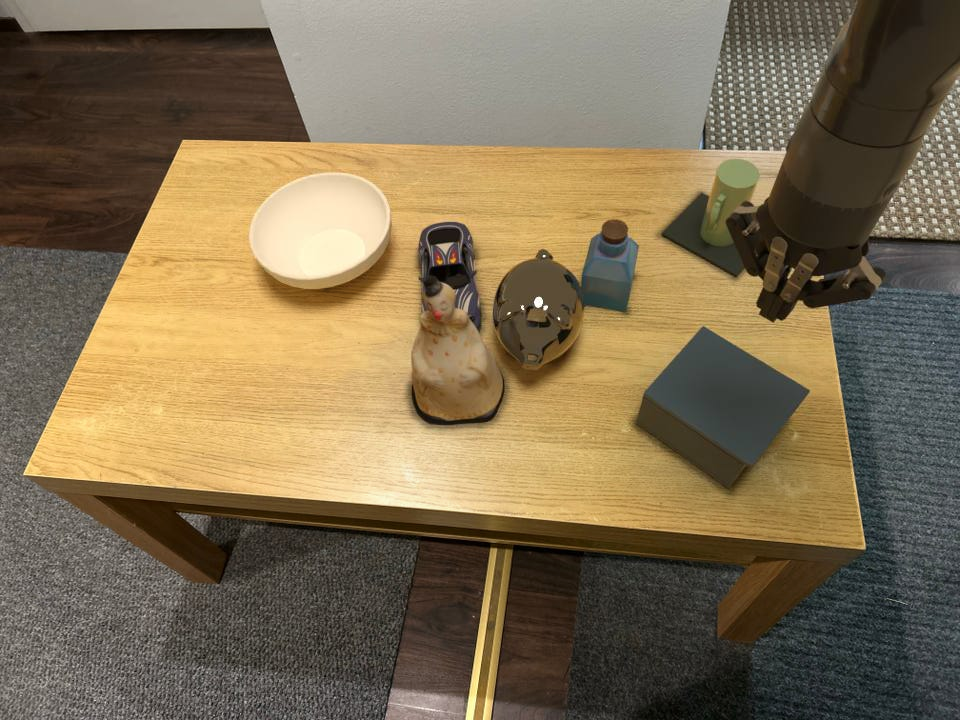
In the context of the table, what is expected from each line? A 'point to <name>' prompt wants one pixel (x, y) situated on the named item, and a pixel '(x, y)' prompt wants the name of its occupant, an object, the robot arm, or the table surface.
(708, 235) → the pale green cylinder
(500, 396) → the figurine
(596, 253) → the perfume bottle
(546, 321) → the piggy bank
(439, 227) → the toy car
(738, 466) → the box
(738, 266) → the mat
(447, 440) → the table surface
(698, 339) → the lid
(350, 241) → the bowl
